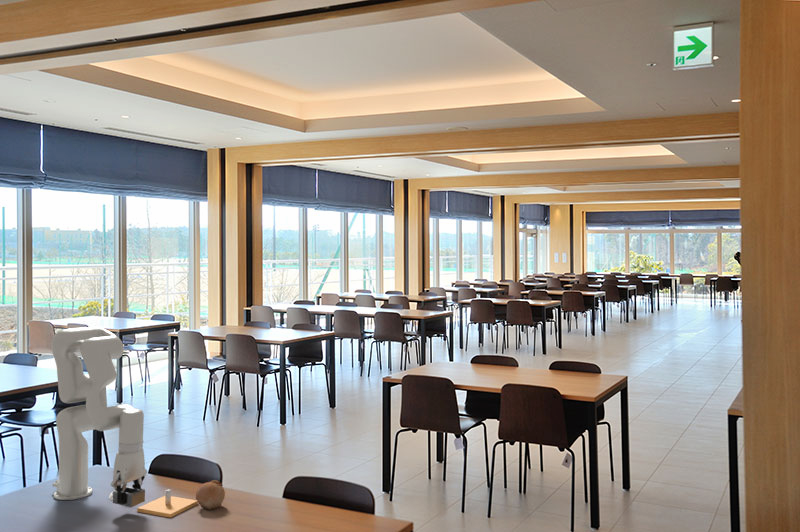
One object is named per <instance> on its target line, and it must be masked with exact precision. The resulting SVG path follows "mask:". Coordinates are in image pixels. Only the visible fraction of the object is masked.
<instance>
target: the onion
mask: <svg viewBox="0 0 800 532" xmlns="http://www.w3.org/2000/svg"><path fill="white" fill-rule="evenodd" d="M225 492H226V491H225V489H224V484H222V482H220V481H219V480H216V479H213V480H209V481H208V482H204V483H201V485H199V487H198V488H197V490H196V495H195V500H197V501H198V505H199V506H200V508H203V509H204V510H213V509H214V510H216V509H217V508H218V507H221V506H222V503H223V502H224V500H225V495H226V493H225Z"/></svg>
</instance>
